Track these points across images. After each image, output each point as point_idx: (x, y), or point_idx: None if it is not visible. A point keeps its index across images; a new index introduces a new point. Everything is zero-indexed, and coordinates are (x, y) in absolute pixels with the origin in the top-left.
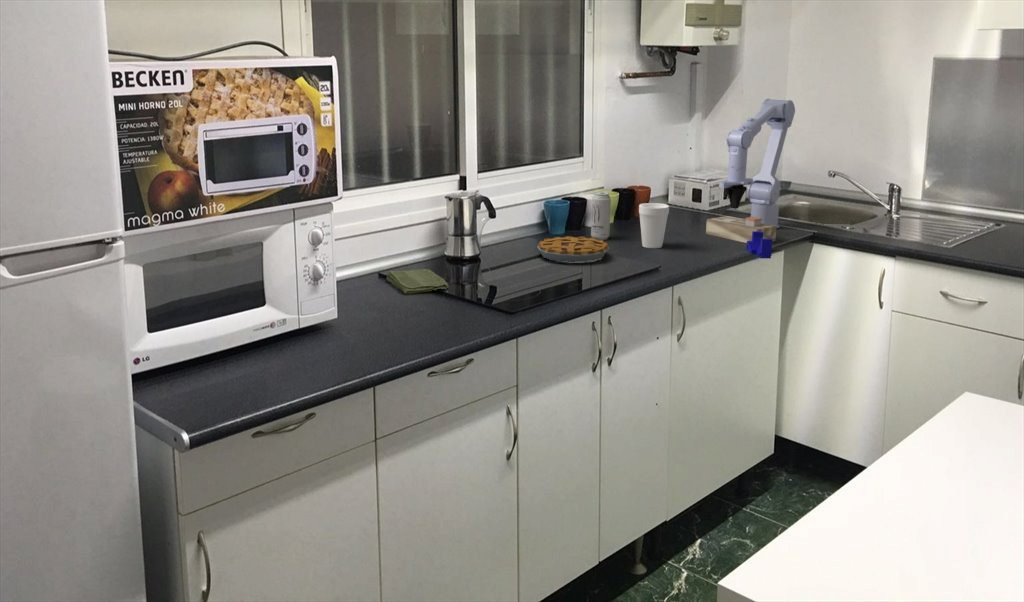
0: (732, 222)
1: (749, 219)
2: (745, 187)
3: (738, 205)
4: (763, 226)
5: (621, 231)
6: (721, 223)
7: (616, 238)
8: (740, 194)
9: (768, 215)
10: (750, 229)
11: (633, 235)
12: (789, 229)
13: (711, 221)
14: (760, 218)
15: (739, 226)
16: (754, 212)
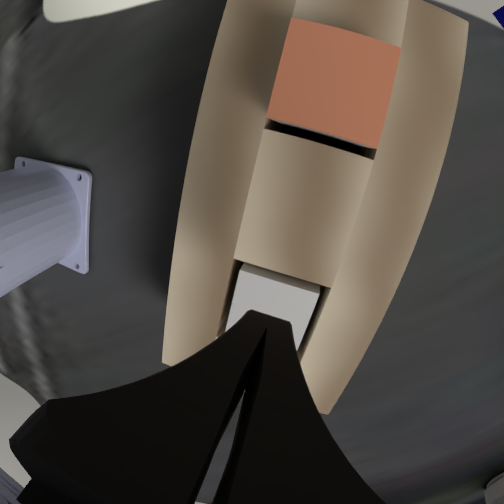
0: (337, 267)
1: (387, 103)
2: (63, 474)
3: (253, 321)
4: (328, 8)
5: (414, 498)
6: (377, 323)
7: (496, 468)
8: (221, 417)
9: (13, 184)
10: (460, 69)
11: (455, 471)
12: (18, 116)
13: (343, 385)
14: (305, 22)
15: (440, 167)
16: (31, 254)
